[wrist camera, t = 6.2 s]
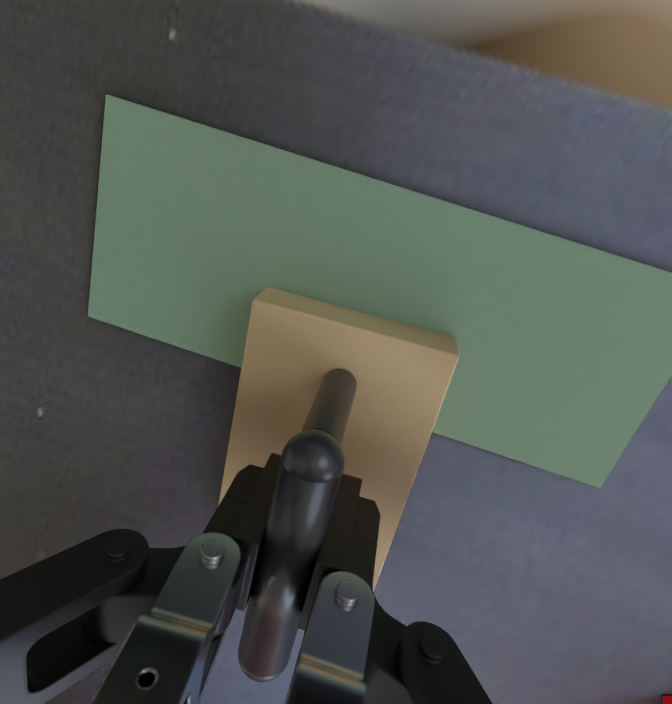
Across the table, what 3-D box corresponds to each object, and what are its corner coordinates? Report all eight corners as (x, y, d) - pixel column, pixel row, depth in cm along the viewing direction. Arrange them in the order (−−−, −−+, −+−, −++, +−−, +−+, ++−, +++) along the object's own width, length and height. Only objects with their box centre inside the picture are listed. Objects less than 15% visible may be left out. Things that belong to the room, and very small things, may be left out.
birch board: (373, 572, 19) (352, 752, 13) (224, 527, 19) (142, 683, 14) (456, 337, 15) (477, 451, 9) (267, 285, 15) (176, 364, 10)
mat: (90, 314, 17) (87, 316, 17) (109, 94, 14) (105, 94, 14) (598, 485, 16) (600, 488, 16) (721, 288, 14) (726, 290, 13)
